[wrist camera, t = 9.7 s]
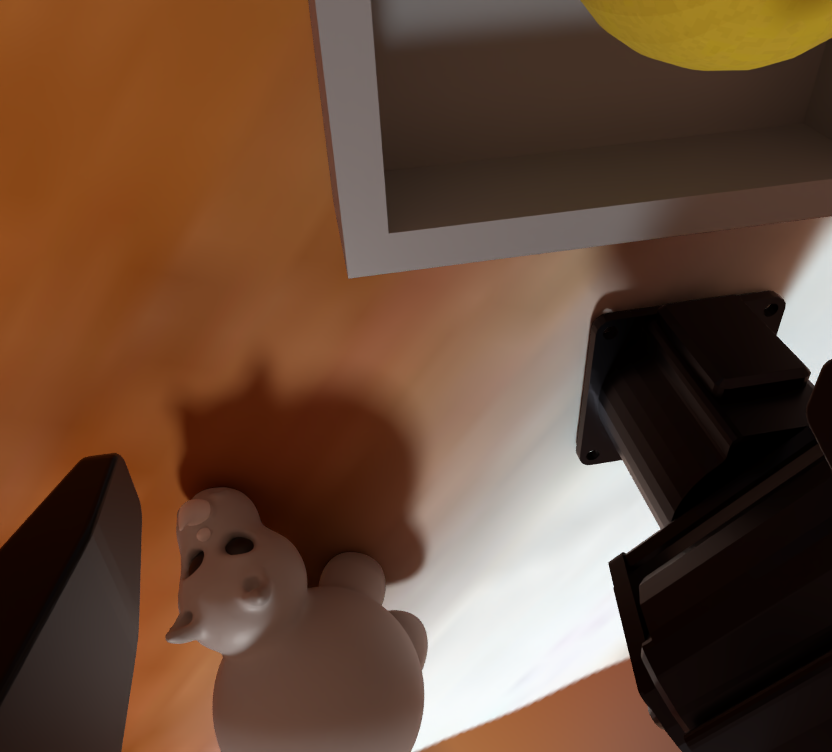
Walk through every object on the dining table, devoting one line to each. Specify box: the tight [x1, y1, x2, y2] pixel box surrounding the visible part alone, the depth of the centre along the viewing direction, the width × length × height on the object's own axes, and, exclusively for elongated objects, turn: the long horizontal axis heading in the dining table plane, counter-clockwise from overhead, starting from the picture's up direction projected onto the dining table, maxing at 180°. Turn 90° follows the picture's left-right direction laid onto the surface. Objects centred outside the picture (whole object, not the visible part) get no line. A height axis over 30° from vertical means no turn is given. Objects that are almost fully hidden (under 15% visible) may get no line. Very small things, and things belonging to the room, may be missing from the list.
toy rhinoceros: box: [166, 487, 428, 752], centre depth 25 cm, size 7×12×8 cm, turn 25°
